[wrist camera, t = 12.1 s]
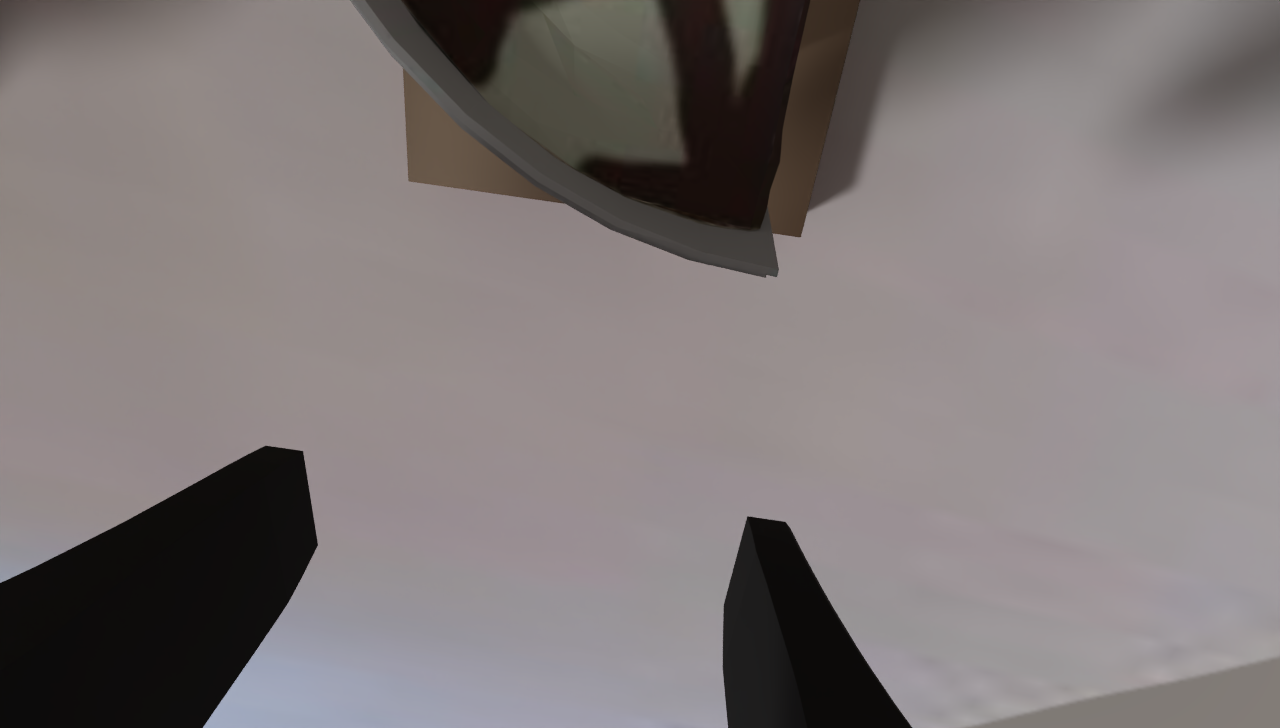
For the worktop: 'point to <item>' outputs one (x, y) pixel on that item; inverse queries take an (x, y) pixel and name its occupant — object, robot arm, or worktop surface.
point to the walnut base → (467, 164)
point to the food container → (620, 106)
